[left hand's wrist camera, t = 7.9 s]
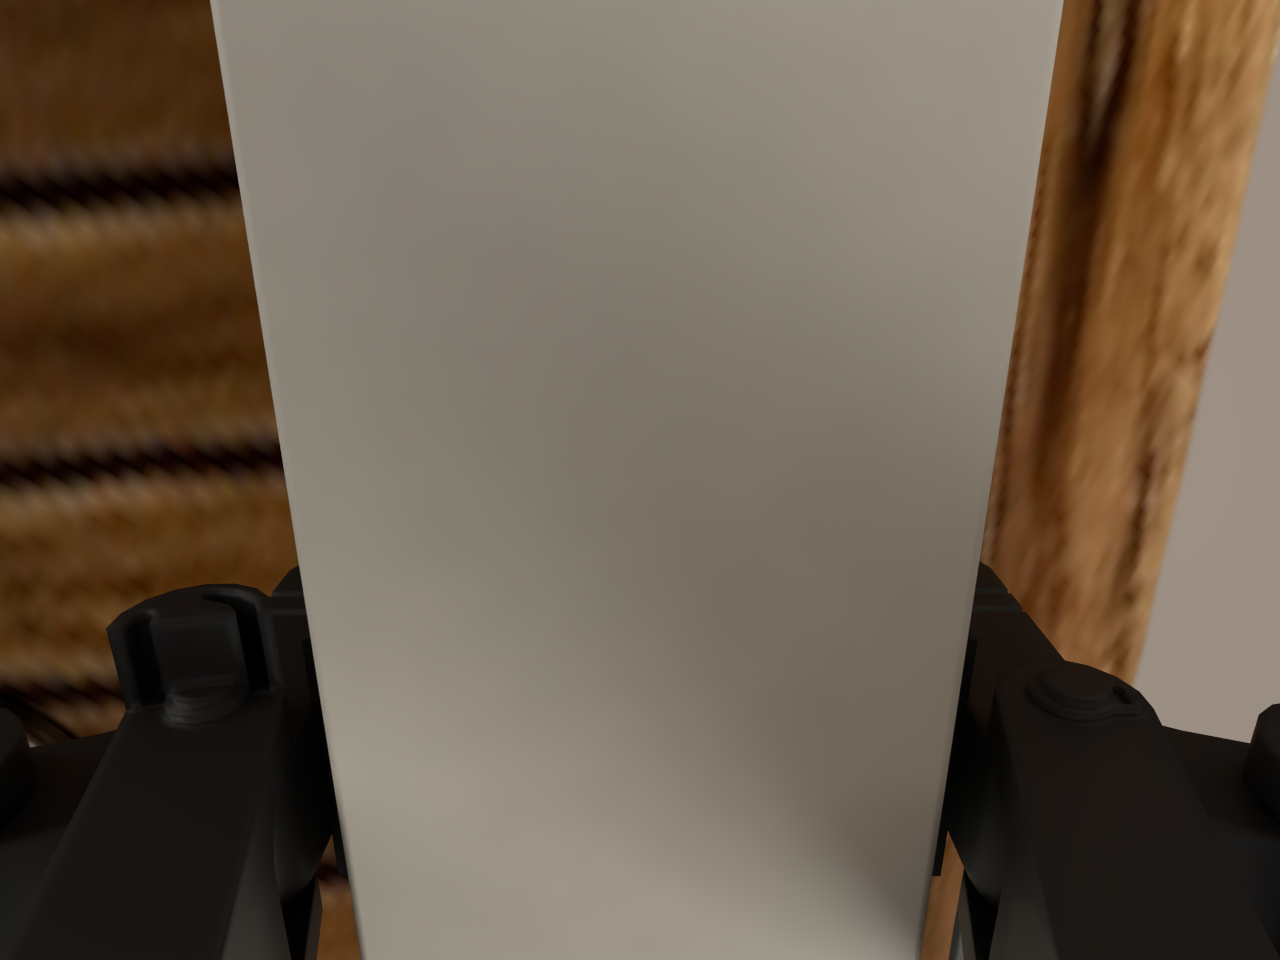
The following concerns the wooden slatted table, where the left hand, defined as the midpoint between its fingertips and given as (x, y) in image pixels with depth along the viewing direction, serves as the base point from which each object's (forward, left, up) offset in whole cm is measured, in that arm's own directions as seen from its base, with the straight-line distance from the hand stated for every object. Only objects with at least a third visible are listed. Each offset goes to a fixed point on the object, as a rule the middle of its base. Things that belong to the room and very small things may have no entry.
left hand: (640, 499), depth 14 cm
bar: (+3, +25, -1) cm, 25 cm away
